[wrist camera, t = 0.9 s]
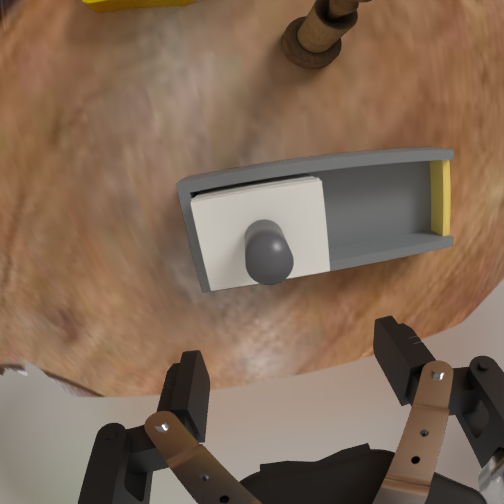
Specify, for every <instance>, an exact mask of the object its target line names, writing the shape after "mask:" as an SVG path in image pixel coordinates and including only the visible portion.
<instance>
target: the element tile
mask: <svg viewBox="0 0 504 504" xmlns="http://www.w3.org/2000/svg"><path fill="white" fill-rule="evenodd" d="M82 1H83V3H85V4H86V5H87V6H89V7H90V8H91V9H93V10H94V11H95V12H99V13H100V12H109V11H117V10H125V9H135V8H147V7H165V6H185V5H188V4H191V3H193V2H195V1H196V0H82Z"/></svg>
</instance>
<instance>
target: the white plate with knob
mask: <svg viewBox="0 0 504 504" xmlns="http://www.w3.org/2000/svg"><path fill="white" fill-rule="evenodd" d="M190 204H191V208H192V213H193V217H194V222H195V226H196V231H197V235H198V239H199V244H200V248H201V252H202V256H203V260H204V265H205V269H206V273H207V277H208V281H209V285H210V289H211V291H215V290H221V289H228V288H234V287H240V286H246V285H252V284H259V283H260V284H263V285H274V284H278V283H280V282H282V281H283V280H285V279H288V278H294V277H299V276H305V275H311V274H316V273H322V272H327V271H330V262H329V249H328V237H327V225H326V215H325V205H324V196H323V187H322V181H321V180H320V178H318V177H316V178H315V177H313V176H311V175H309V174H307V173H302V174H295V175H288V176H281V177H275V178H268V179H262V180H256V181H250V182H244V183H238V184H233V185H227V186H222V187H216V188H211V189H206V190H201V191H200V192H199V193H198V194H197V195H196V197H195V198H192V199H191V203H190Z"/></svg>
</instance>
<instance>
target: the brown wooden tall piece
mask: <svg viewBox="0 0 504 504" xmlns="http://www.w3.org/2000/svg"><path fill="white" fill-rule="evenodd" d="M369 1H371V0H316V2H315V3H314V5H313V7H312V9H311V10H310V12H309V14H308V15H307V16H305V17H300V18H298V19H296V20H294V21H293V22H291V23H290V24H289V25H288V27H287V28H286V30H285V32H284V34H283V37H282V48H283V51H284V53H285V55H286V56H287V57H288V58H289V59H290V60H291V61H292V62H293V63H295V64H296V65H299V66H301V67H304V68H310V69H316V68H321V67H324V66H326V65H328V64H329V63H331V62H332V61H333V60H334V59H335V58H336V57H337V56H338V55H339V53H340V50H341V37H342V36H343V35H344V34H345V33H346V32H347V31H348V30H349V29H351V28H352V27H353V26H354V25H355V23H356V22H357V18H358V14H357V10H356V9H357V8H358V5H359V3H358V2H369Z"/></svg>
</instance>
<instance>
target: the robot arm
mask: <svg viewBox="0 0 504 504" xmlns="http://www.w3.org/2000/svg"><path fill="white" fill-rule="evenodd" d="M373 349H374V354H375V357H376V359H377V361H378V363H379V364H380V366H381V368H382V370H383V372H384V374H385V375H386V377H387V379H388V381H389V383H390V385H391V387H392V389H393V390H394V392H395V394H396V396H397V398H398V400H399V402H400V404H401V406H404V405H406V404H409V403H410V405H411V407H412V408H411V411H410V414H409V418H408V421H407V423H406V426H405V429H404V432H403V435H402V438H401V440H400V443H399V445H398V448H397V451H396V453H394V452H391V451H387V450H380V449H373V450H372V449H371V450H370V447H369V445H368V443H366V444H363V445H359V446H356V447H352V448H348V449H344V450H341V451H339V452H337V453H335V454H333V455H330V456H328V457H326V458H324V459H321V460H319V461H316V462H303V461H282V462H276V463H268V464H260V471H259V472H256V473H254V474H252V475H249V476H248V477H246V478H244V479H243V480H241V481H240V482H238V481H237V480H236V479H235V478H234V477H233V476H232V475H231V474H230V473H229V472H228V471H227V470H226V469H225V468H224V467H223V466H222V465H221V464H220V463H219V462H218V461H217V460H216V458H215V457H214V456H213V455H212V454H211V453H210V452H209V451H208V450H207V449H206V448H205V447H204V446H203V445H202V444H201V445H200V444H199V443H200V442H205V434H206V423H207V413H208V402H209V392H210V379H209V374H208V372H207V369H206V366H205V363H204V360H203V357H202V354H201V352H200V351H199V350H196V351H186V352H183V353H182V357H181V361H180V363H174V364H173V365H172V366H171V367H170V369H169V370H168V371H167V374H166V378H165V382H164V386H163V387H164V388H163V389H162V393H161V397H160V401H159V405H158V408H157V412H156V413H154V414H152V415H151V416H150V417H148V419H147V420H146V422H145V424H144V425H142V426H139V427H135V428H130V429H125V428H124V426H123V425H121V424H119V423H109V424H107V425H105V426H103V427H102V428H101V429H100V430H99V431H98V433H97V436H96V439H95V442H94V446H93V449H92V453H91V456H90V459H89V463H88V466H87V470H86V474H85V477H84V481H83V485H82V488H81V492H80V496H79V500H78V504H149V501H150V500H149V499H150V492H151V483H152V475H153V471H156V470H160V469H165V468H168V467H170V469H171V470H172V471H173V473H174V474H175V475H176V477H177V478H178V480H179V481H180V482H181V483H182V485H183V486H184V487H185V489H186V490H187V491H188V492H189V494H190V495H191V496H192V497H193V499H194V500H195V501H196V502H197V503H198V504H504V372H503V371H502V370H501V368H500V367H499V366H498V364H497V363H496V362H495V361H494V360H493V359H492V358H490V357H487V356H478V357H475V358H474V359H473V360H472V361H471V362H470V365H469V367H462V368H452V367H451V366H450V365H449V364H447V363H446V362H443V361H436V359H435V358H434V357H433V355H432V354H431V353H430V351H429V350H428V349H427V348H426V346H425V345H424V344H423V342H421V340H420V338H419V337H418V336H417V334H416V333H415V332H414V331H413V329H412V328H410V327H409V326H407V325H405V324H403V323H402V324H398V323H397V322H396V320H395V319H394V318H393V317H392V316H387V317H383V318H379V319H376V320H375V326H374V341H373ZM449 415H456V417H457V419H458V421H459V423H460V425H461V427H462V429H463V431H464V433H465V434H466V437H467V438H468V440H469V443H470V445H471V446H472V449H473V451H474V453H475V455H476V457H477V459H478V461H479V463H480V465H481V468H482V470H481V471H480V474H479V476H478V483H479V492H478V491H477V490H475V489H473V488H471V487H468V486H466V485H463V484H461V483H458V482H456V481H454V480H452V479H449V478H447V477H445V476H443V475H440V474H438V473H436V472H434V470H435V467H436V464H437V460H438V457H439V453H440V449H441V446H442V442H443V438H444V434H445V430H446V425H447V421H448V416H449Z"/></svg>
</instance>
